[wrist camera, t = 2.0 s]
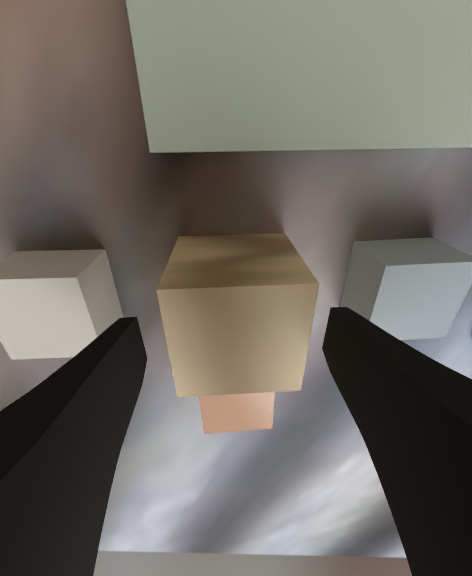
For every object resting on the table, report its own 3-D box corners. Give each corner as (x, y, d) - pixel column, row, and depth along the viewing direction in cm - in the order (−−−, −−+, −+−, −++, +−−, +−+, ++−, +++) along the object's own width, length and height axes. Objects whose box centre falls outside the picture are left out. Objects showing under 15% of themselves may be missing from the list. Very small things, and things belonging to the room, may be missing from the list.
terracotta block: (266, 342, 16) (275, 382, 13) (264, 386, 18) (272, 428, 15) (200, 346, 16) (197, 387, 13) (206, 390, 18) (204, 433, 15)
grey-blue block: (430, 236, 13) (482, 261, 10) (405, 302, 15) (444, 337, 12) (352, 240, 13) (386, 266, 10) (338, 306, 15) (363, 342, 12)
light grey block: (106, 248, 12) (76, 277, 10) (124, 316, 14) (103, 355, 12) (18, 249, 12) (-36, 280, 10) (49, 319, 14) (11, 359, 12)
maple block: (284, 232, 12) (319, 283, 8) (277, 317, 15) (300, 390, 11) (178, 235, 12) (156, 289, 8) (189, 321, 15) (177, 397, 10)
